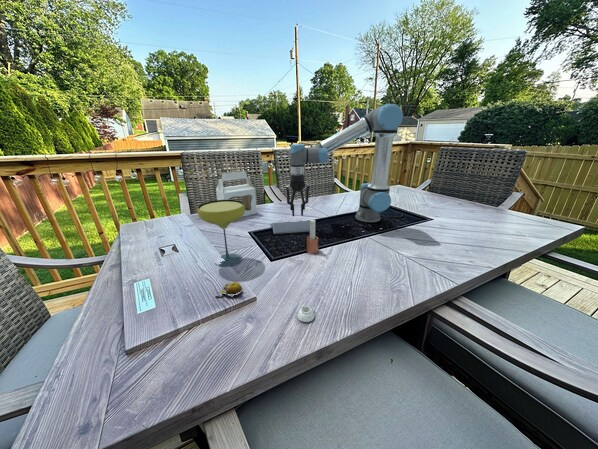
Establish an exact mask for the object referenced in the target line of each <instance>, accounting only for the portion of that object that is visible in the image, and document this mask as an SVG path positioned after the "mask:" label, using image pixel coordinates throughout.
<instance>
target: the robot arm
mask: <svg viewBox="0 0 598 449" xmlns="http://www.w3.org/2000/svg"><path fill="white" fill-rule="evenodd" d="M403 119H404V114H403V110H402V108H401V107H400V106H398V105H397V104H396V103H395V104H394V103H385V104H383V105H381V106H377V107H376V108H374V109H373V110H371V111H370V112H368V113H367V114H365V115H364V116H362V117H361V118H360V119H359V121H356V122H355V123H353V124H352V125H350V126H347V127H346V128H344V129H342V130H340V131H339V132H337V133H335V134H333V135H331V136H330V137H328V138H326V139H324V140H322V141H320V142H319V143H317V144H315V145H312V146H311V147H306V145H305V144H304V143H292V144H291V145H290V148H289V149H290V152H289V154H290V155H289V158H290V159H289V160H290V161H289V162H290V182H289V185H285V186H284V187H285V191H286V203H287V205H289V208H290V211H291V215H292V217H295V204H294V201H295V196H296V194H297V192H299V194H300V198H301V203H300V216H302V217H304V211H305V210H306V204H309V196H310V194H309V193H310V191H309V190H310V188H311V187H310V185H309V184H306V182H305V171H306V170H305V166H306V165H305V164H323V163H324V164H325V163H327V162H328V160H329V159H328V157H329V154H330V153H332V152H335V151H336V150H338V149H340V148H341V147H343V146H345V145H347V144H349V143H351V142H352V141H354V140H356V139H358V138H360V137H362V136H364V135H365V134H367V135H369V134H373V136H374V137H375V142H374V150H373V160H372V171H371V179H370V182H365V183H364V182H363V183H362V184H361V185H360V192H359V194H360V195H359V202H358V203H359V205H358V209H357V211H356V214H355V217H354V220H356V221H357V222H359V223H363V224H376V223H380V221H381V218H391V219H400V218H403V216H404V213H401V215H399V216H393V215H392V216H391V215H380V214H381V213H382V212H385V211H386V210H388V209H389V208H390V206H391V204H392V197H391V195H390V190H391V186H390V185H389V184H388V182H389V174H390V168H391V160H392V151H393V144H394V137H395V136H397V134H398V130H399V126H401V125H402V123H403ZM304 188H305V197H304V191H303V190H304ZM290 189H292V192H291V197H290Z"/></svg>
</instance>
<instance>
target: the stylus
mask: <svg viewBox="0 0 598 449" xmlns="http://www.w3.org/2000/svg"><path fill="white" fill-rule="evenodd" d="M309 221H310V233H309V236H310V240H315V236H316V219H310V220H309Z"/></svg>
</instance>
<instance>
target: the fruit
mask: <svg viewBox="0 0 598 449" xmlns="http://www.w3.org/2000/svg"><path fill="white" fill-rule="evenodd" d="M241 290H242V291H243V286H242V285H241V284H240V283H239V282H237V281H233V282H228V283H226V284H225V285H224V286H223V289H221V290H220V291H219V292H218V293H217V294H224V293H225V291H226V293H227V294H236V293H238V292H240V291H241ZM240 295H241V293H240V294H238V295H234V296H233V297H234V298H233V297H232V298H231V299H235V298H238V297H239V296H240Z"/></svg>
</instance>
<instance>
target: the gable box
mask: <svg viewBox="0 0 598 449" xmlns="http://www.w3.org/2000/svg"><path fill="white" fill-rule="evenodd" d="M220 177H221V178H219V179H217V186H216V189H215V194H216V200H231V198H234V197H242V201H241V202H243V204H244V207H245V212H244V214H243V215H242V216H241V217H240V218H243V217H247V216H252V215H257V214H258V208H257V194H256V188H255V185H254V184H253V182H252V180H251V175H247V172H246V171H237V172H236V171H235V172H226V173H222V174H221V176H220ZM236 180H245V183H243V184H237V185H230V186H224V183H225V182H228V181H236Z"/></svg>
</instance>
